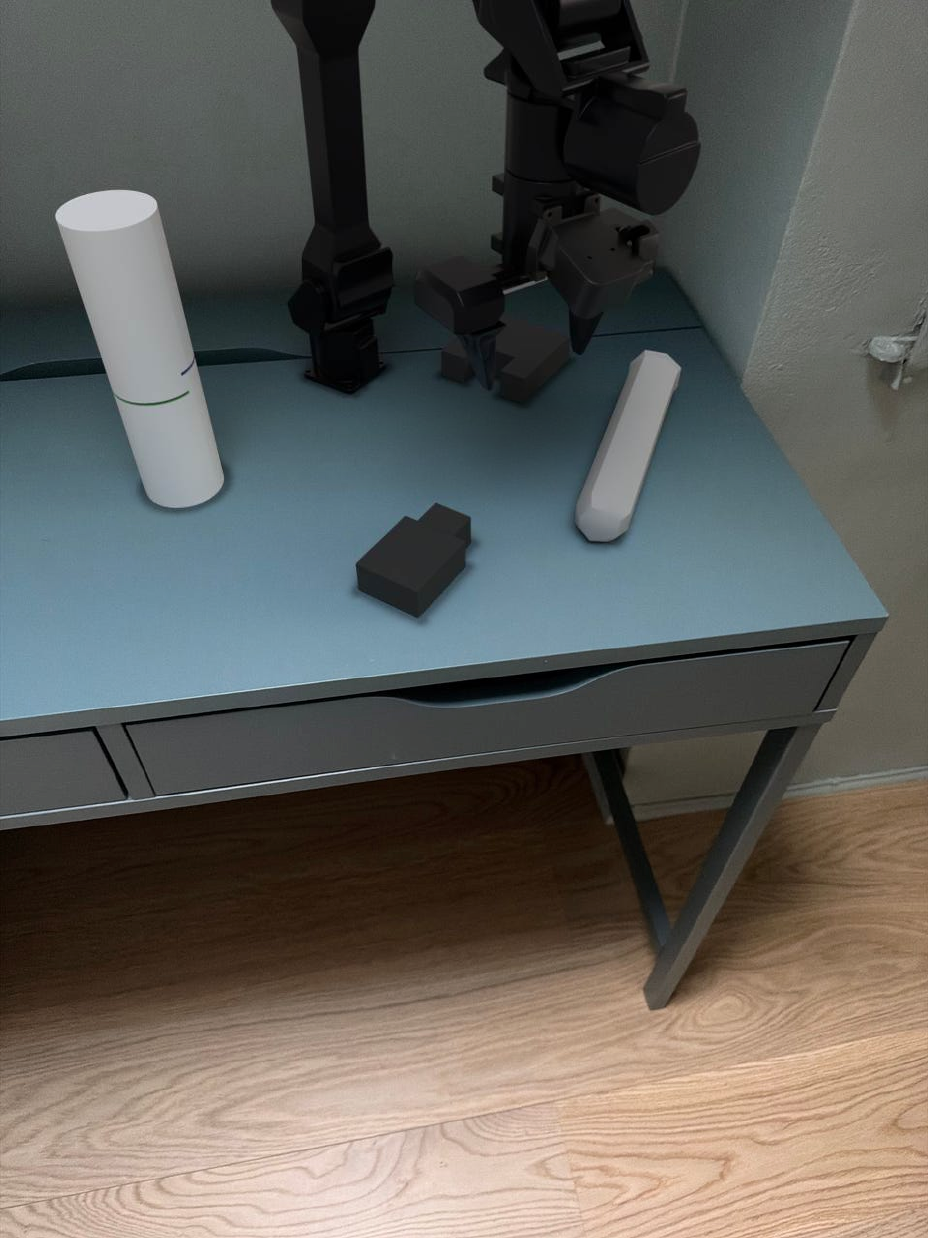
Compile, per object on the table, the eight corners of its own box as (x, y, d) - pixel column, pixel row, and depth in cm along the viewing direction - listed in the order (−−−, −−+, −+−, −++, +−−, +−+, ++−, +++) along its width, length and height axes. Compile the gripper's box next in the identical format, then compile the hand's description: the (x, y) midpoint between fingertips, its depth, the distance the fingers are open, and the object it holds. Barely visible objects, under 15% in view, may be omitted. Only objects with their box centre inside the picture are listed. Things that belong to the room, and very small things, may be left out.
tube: (612, 563, 78) (665, 405, 94) (639, 523, 74) (690, 365, 90) (556, 536, 78) (619, 382, 94) (581, 494, 73) (642, 341, 89)
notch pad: (441, 375, 96) (440, 350, 94) (490, 334, 102) (490, 309, 99) (522, 404, 92) (524, 378, 90) (568, 360, 98) (571, 334, 96)
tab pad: (358, 589, 74) (355, 563, 72) (425, 523, 80) (424, 497, 77) (418, 618, 72) (416, 592, 70) (482, 548, 77) (483, 521, 75)
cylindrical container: (238, 468, 85) (176, 197, 67) (199, 514, 80) (120, 237, 62) (172, 453, 87) (93, 184, 68) (130, 498, 82) (34, 222, 64)
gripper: (505, 245, 53) (498, 461, 64) (731, 173, 60) (688, 379, 71) (404, 182, 59) (414, 389, 70) (620, 124, 66) (597, 320, 78)
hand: (533, 370), depth 72 cm, fingers open, 9 cm apart
